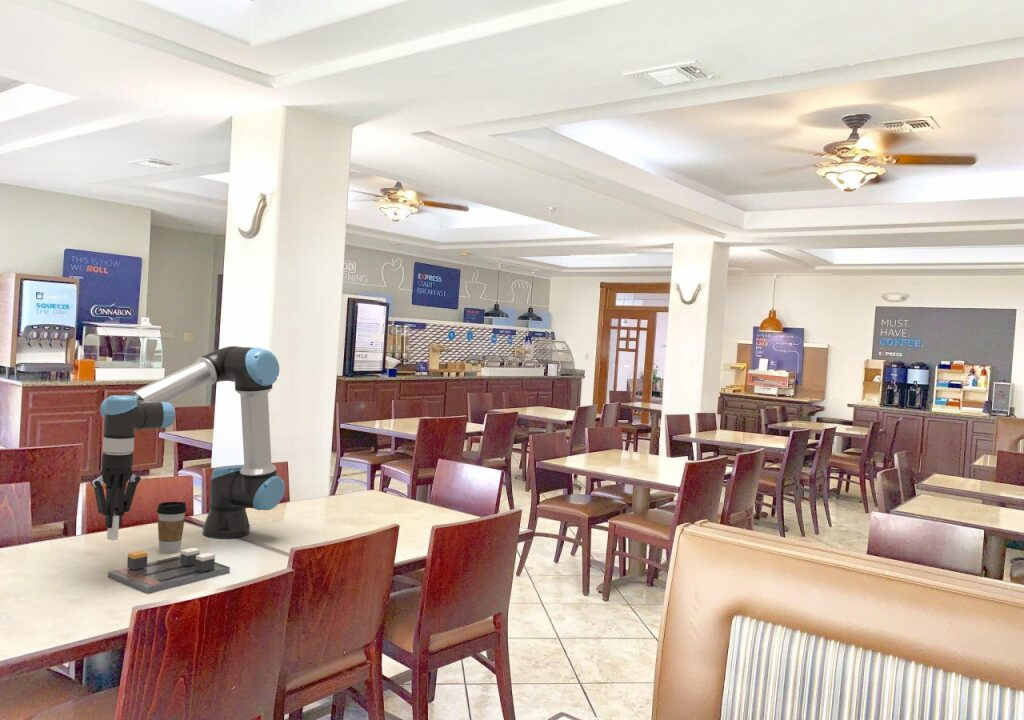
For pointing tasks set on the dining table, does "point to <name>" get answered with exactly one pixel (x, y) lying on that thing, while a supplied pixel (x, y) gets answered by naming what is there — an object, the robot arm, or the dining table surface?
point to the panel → (164, 575)
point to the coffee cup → (170, 526)
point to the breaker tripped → (137, 560)
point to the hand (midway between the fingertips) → (112, 539)
